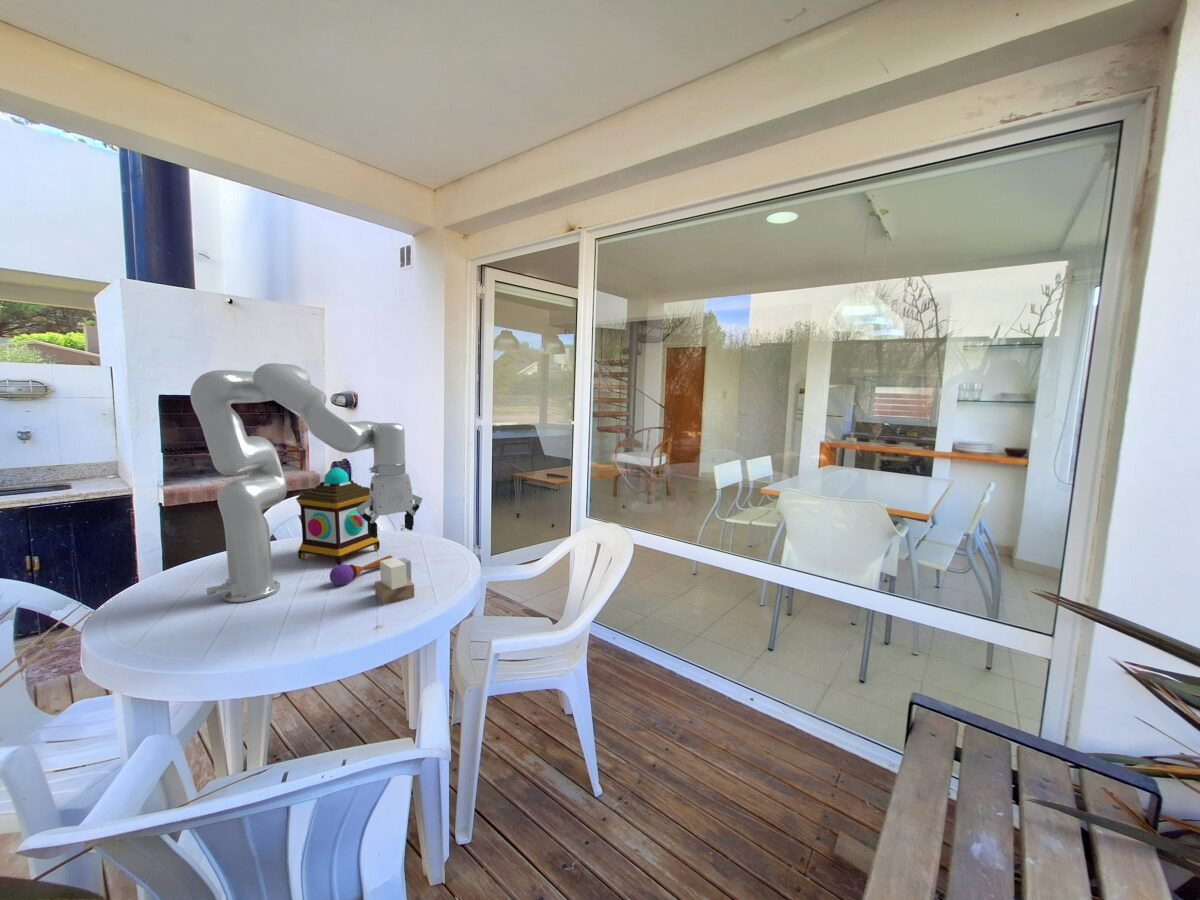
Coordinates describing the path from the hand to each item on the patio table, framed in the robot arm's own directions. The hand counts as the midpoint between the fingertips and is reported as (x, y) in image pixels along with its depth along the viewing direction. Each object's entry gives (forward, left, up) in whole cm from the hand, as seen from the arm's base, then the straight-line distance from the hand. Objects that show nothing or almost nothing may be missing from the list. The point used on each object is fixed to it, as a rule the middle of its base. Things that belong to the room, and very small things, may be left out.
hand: (391, 532), depth 126 cm
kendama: (+1, +21, -18) cm, 28 cm away
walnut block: (0, 0, -18) cm, 18 cm away
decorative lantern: (+3, +44, -18) cm, 48 cm away
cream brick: (0, 0, -14) cm, 14 cm away
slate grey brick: (+5, +9, -18) cm, 21 cm away
